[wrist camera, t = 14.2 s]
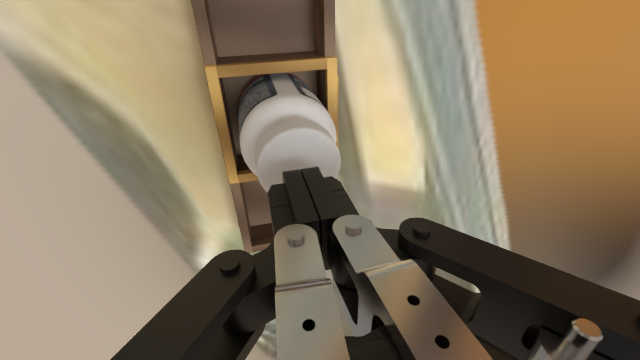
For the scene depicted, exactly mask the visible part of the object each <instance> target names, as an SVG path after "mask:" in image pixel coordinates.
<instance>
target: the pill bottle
mask: <svg viewBox="0 0 640 360" xmlns="http://www.w3.org/2000/svg"><path fill="white" fill-rule="evenodd" d="M238 122H239V141H240V148H241V153H242V156H243V159H244V161H245V163H246V164H247V166H248V167H249V169H250V170H251V171H252V172H253V173H254V174H255V175H256V176H257V177H258V179H259V182H260V184H261V186H262V187H263V189H264V190H265V191H266V192H267V193H268V191H269V189H270V187H271V185H275V184H282V183H283V177H282V171H290V170H297V169H300V170H301V169H304V168H311V167H319V169H320V171H321V173H322V175H323V177H329V176H332V177H334V178H335V179H337V177H338V174H339V171H340V166H341V159H340V153H339V150H338V147H337V145H336V141H337V137H336V129H335V125H334V122H333V120H332V118H331V116H330V114H329V113H328V111H327V109H326V108H325V107H324V106H323V105H322V103H321V102H320V101H319V99H318V98H317V97H316V96H315V94H314V93H313V92H312V91H311V90H310V88H309V87H308V86H307V85H306V84H305V83H304V82H303V81H302V80H301V79H300V78H298V77H297V76H295V75H293V74H291V73H288V72H285V73H273V74H261V75H257V76H255V77H254V78H252V79H251V80H250V81H249V82H248V83H247V84H246V85H245V87H244V88H243V90H242V92H241V94H240V97H239V101H238Z"/></svg>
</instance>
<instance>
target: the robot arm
mask: <svg viewBox="0 0 640 360" xmlns="http://www.w3.org/2000/svg"><path fill="white" fill-rule="evenodd" d="M282 177H283V183H282V184H275V185H271V187H270V189H269V191H268V200H269V207H270V214H271V221H272V228H273V234H274V239H273V241H272V243H271V244H270V245H269V246H268V247H267V248H266V249H264V250H263V251H261V252H259V253H257V254H254V255H252V256H251V255H250V254H249V253H248V252H246V251H242V250H229V251H225V252H223V253H221V254H219V255H217V256H215V257H214V258H213V259H212V260H211V261H210V262H209V263H208V264H207V265H206V266H205V267H204V268H203V269H202V270H201V271H200V272H199V273H198V274H197V275H195V276H194V277H193V279H191V281H189V282H188V283H187V284H186V285H185V286H184V287H183V288H182V289H181V290H180V291H179V292H178V293H177V294H176V295H175V296H174V297H173V298H172V299H171V300H170V301H169V302H168V303H167V304H166V305H165V306H164V307H163V308H162V309H161V310H160V311H159V312H158V313H157V314H156V315H155V316H154V317H153V318H152V319H151V320H150V321H149V322H148V323H147V324H146V325H145V326H144V327H143V328H142V329H141V330H140V331H139V332H138V333H137V334H136V335H135V336H134V337H133V338H132V339H131V340H130V341H129V342H128V343H127V344H126V345H125V346H124V347H123V348H122V349H121V350H120V351H119V352H118V353H117V354H116V355H115V356H114V357H113V358H112V359H111V360H245V359H246V357H247V356H248V354H249V353H250V351H251V350H252V348H253V346H254V345H255V343H256V342H257V340H258V339H259V337H260V336H261V334H262V332H263V331H264V328H265V324H266V323H268V322H270V321H272V320H273V319H275V318H276V332H277V355H278V360H640V301H639V300H636V299H634V298H631V297H629V296H626V295H623V294H621V293H618V292H616V291H613V290H610V289H607V288H605V287H603V286H600V285H597V284H595V283H592V282H589V281H587V280H584V279H582V278H579V277H576V276H574V275H571V274H569V273H566V272H563V271H561V270H558V269H556V268H553V267H550V266H548V265H545V264H543V263H540V262H537V261H535V260H532V259H530V258H527V257H524V256H522V255H519V254H516V253H514V252H511V251H509V250H506V249H503V248H501V247H498V246H496V245H493V244H490V243H488V242H485V241H483V240H480V239H477V238H475V237H472V236H470V235H467V234H464V233H462V232H459V231H457V230H454V229H451V228H449V227H446V226H443V225H441V224H438V223H436V222H433V221H430V220H428V219H424V218H410V219H407V220H405V221H403V222H402V223H401V224H400V228H399V230H394V229H380V228H376V227H375V226H374V225H373V223H372V222H371V221H370V220H369V219H367V218H365V217H363V216H360V215H359V214H358V212H357V210H356V209H355V207H354V205H353V203H352V202H351V200H350V198H349V196H348V195H347V193H346V191H345V190H344V188H343V186H342V184H341V182H340V181H338V180H337V179H335V178H334V177H332V176H329V177H323V175H322V173H321V171H320V169H319V167H311V168H304V169H301V170H300V169H297V170H290V171H282ZM436 268H439V269H442V270H444V271H446V272H448V273H450V274H452V275H454V276H457V277H459V278H461V279H463V280H465V281H467V282H470V283H472V284H473V285H475V286H476V287H477V288H478V289H479V290H480V292H481V293H474V292H471V291H469V290H467V289H465V288H463V287H461V286H459V285H457V284H455V283H452V282H450V281H448V280H446V279H444V278H442V277H440V276H438V275H436V274H435V272H436ZM329 269H331V272H332V274H333V287H334V290H335V292H336V295H337V297H338V299H339V301H340V304H341V306H342V308H343V310H344V313H345V315H346V317H347V320H348V322H349V324H350V326H351V329H352V331H353V334H354V336H344V333H343V329H342V325H341V320H340V316H339V312H338V308H337V304H336V300H335V296H334V292H333V287H332V284H331V281H330V279H327V276H326V272H325V270H329Z"/></svg>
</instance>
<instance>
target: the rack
mask: <svg viewBox="0 0 640 360" xmlns="http://www.w3.org/2000/svg"><path fill="white" fill-rule="evenodd" d="M191 2H192V7H193V11H194V16H195V21H196V25H197V30H198V35H199V39H200V44H201V49H202V53H203V58H204V63H205V67H204V68H205V73H206V77H207V82H208V87H209V91H210V96H211V101H212V105H213V110H214V114H215V119H216V124H217V128H218V133H219V138H220V142H221V147H222V152H223V156H224V161H225V166H226V170H227V175H228V179H229V184H230V185H231V189H232V194H233V199H234V203H235V208H236V213H237V217H238V222H239V227H240V231H241V236H242V241H243V245H244V250H245V251H246V252H248V253H251V252H256V251H262V250H264V249H266V248H267V247H268V246H269V245H270V244H271V243H272V241H273V239H274V234H273V228H272V221H271V214H270V207H269V200H268V193H267V192H266V191H265V190H264V189H263V187H262V186H261V184H260V182H259V179H258V177H257V176H256V175H255V174H254V173H253V172H252V171H251V170H250V169H249V167H248V166H247V164H246V163H245V161H244V159H243V156H242V153H241V148H240V141H239V122H238V101H239V97H240V94H241V92H242V90H243V88H244V87H245V85H246V84H247V83H248V82H249V81H250V80H251V79H252V78H254V77H255V76H257V75H261V74H273V73H285V72H288V73H291V74H293V75H295V76H297V77H298V78H300V79H301V80H302V81H303V82H304V83H305V84H306V85H307V86H308V87H309V88H310V90H311V91H312V92H313V93H314V94H315V96H316V97H317V98H318V99H319V101H320V102H321V103H322V105H323V106H324V107H325V108H326V109H327V111H328V113H329V114H330V116H331V118H332V120H333V122H334V125H335V129H336V137H337V141H336V145H337V147H338V75H337V57H335V0H191Z"/></svg>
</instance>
